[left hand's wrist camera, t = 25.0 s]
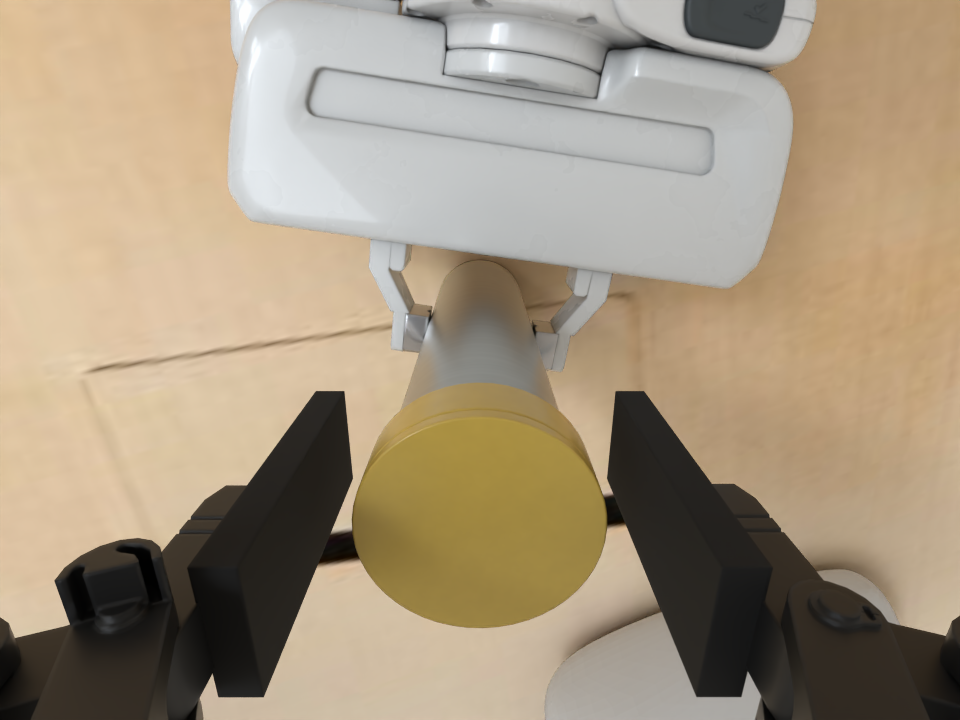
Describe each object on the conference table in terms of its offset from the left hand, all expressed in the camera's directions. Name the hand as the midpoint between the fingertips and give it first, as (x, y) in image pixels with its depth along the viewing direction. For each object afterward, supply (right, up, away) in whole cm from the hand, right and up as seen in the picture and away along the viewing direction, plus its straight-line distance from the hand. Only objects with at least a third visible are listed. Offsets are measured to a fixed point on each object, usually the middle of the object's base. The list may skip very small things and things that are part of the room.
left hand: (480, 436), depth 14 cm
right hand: (0, +2, +9) cm, 9 cm away
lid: (0, -1, -3) cm, 4 cm away
